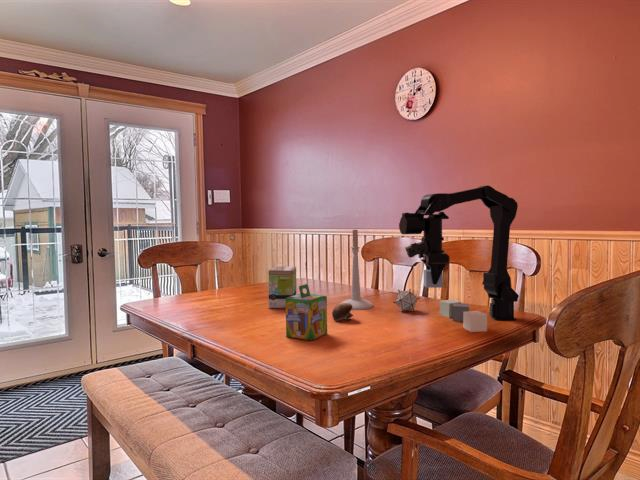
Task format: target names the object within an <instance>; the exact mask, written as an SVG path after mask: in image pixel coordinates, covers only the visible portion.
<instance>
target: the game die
mask: <svg viewBox="0 0 640 480" xmlns="http://www.w3.org/2000/svg"><path fill="white" fill-rule="evenodd" d="M397 292H398V294H397V297H396V299H395V300H394V301H393V302H392V303H393V304H396V306H398V308H400V310H401V313H403V312H404V311H413V312H415V311H416V310H415V306H416V304H417V302H418V300H420V299H421V298H420V297H417V296H416V295H415V294H414V293H413V292H412V291H411V288H409V290H402V291H401V290H400V289H397Z"/></svg>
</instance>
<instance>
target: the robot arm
mask: <svg viewBox="0 0 640 480" xmlns="http://www.w3.org/2000/svg"><path fill="white" fill-rule="evenodd" d="M477 200H478V201H479V200H481V202H482V203H483V205H484V206H485V207H486V208H488V209H489V216H490V219H491V221H492V223H493V234H492V246H491V247H492V249H491V259H490V268H489V270H488V271H487V272H483V275H482V278H483V280H482V284H481V285H483V290H484V291H485V292H486V293H487V296H488V298H489V299H491V300H490V301H491V302H490V303H489V317H491V318H492V319H493V320H495V321H516V320H517V318H516V317H515V302H518V300H519V297H520V296H519V294H518V293H517V292H516V291H515V289H513V288H512V280H511V276H510V274H509V272H508V261H509V258H508V257H509V244H510V233H511V232H510V230H511V226H512V223H513V222H514V220H515V219H516V217H517V212H518V207H519V205H518V202H517V201H516V200H515V199H514V198H513V197H509V196H508V195H507V194H505V193H503V192H501V191H498V190H496V189H495V188H493V187H492V186H491V185H480V186H478V187H474V188H470V189H465V190H461V191H455V192H450V193H446V192H445V193H444V192H442V193H441V192H440V193H431V194H430V193H429V194H425V195H423V196H422V198H421V200H420V205H419V206H418V207H417V209H416V210H415V211H414V212H412V213H411V212H402V213H401V217H400V219H399V223H398V228H399V232H400V234H401V235H404V236H405V235H420V234H422V233H423V236H422V237H421V241H419V242H414V243H411V244H409V245H408V246H406V247H404V248H405V251H406V254H407V257H408V258H410V259H411V258H414V257H415V256H418V258H419V259H420V261H421V262H422V263H423V264H424V265H425V270H430V271H431V276H432V282H433V284H437V282H438V280H439V278H440V276H441V273H442V271H443V272H444V269H445V268H446V265H447V264H449V263H450V256H449V254H448V253H447V252H446V253H445V251H444V249H443V241H445V238H444V236H443V220H449V216H448V215H447V214H446V213H445V210H447V209H449V208H450V207H453V206H454V205H458V204H463V203H467V202H472V201H477ZM425 216H427V217H425Z"/></svg>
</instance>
